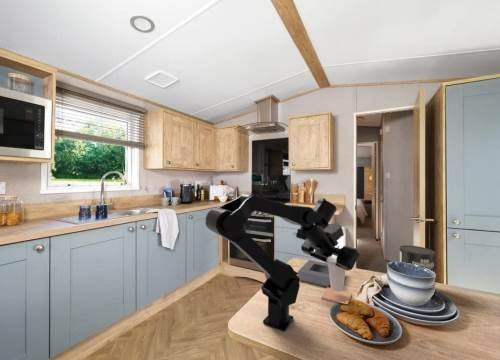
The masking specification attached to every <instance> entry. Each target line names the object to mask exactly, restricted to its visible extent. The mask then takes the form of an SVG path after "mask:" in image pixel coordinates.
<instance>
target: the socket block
mask: <svg viewBox="0 0 500 360" xmlns="http://www.w3.org/2000/svg"><path fill="white" fill-rule="evenodd" d="M297 272H298V275H297V276H298V277H299V279H300V282H304V283H308V284H312V285H317V286H321V287H325V288H327V287H328V288H331V284H330V277H329V269H328V263H326V262H323V261H322V262H321V261H315V260H311V259H308V261H307V262H305V263H304V264H303V266H301V267H300V269H298V270H297Z"/></svg>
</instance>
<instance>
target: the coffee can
mask: <svg viewBox="0 0 500 360" xmlns="http://www.w3.org/2000/svg"><path fill="white" fill-rule="evenodd" d="M436 255H437V253H436V251H434V250H433V249H429V248H427V247H422V246H417V245H400V246H399V263H400V262H406V263H411V264H412V265H413V264H416V265H419V266H421V267H425V268H428V269H430V270H431V271H433V272H434V273H435V274H436Z"/></svg>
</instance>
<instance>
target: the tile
mask: <svg viewBox="0 0 500 360" xmlns="http://www.w3.org/2000/svg"><path fill="white" fill-rule="evenodd" d="M352 295H353V294H352V292H349V291H344V290H343V291H340V292H339V291H334V290H332V289H331V288H328V287H325V290H324V292H323V294H322V295H321V297H320V298H321V299H322V300H326V301H329V302H333V303H336V304H338V303H337V302H346V301H349V302H350V301H351V298H352Z"/></svg>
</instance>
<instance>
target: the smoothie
mask: <svg viewBox="0 0 500 360" xmlns="http://www.w3.org/2000/svg"><path fill="white" fill-rule="evenodd" d="M336 248H339V249H340V245H337V246H336ZM336 258H337V256H335V255H332V256H331V257H328V258H327V263H328V269H329V277H330V284H331V289H332V290H334V291H339V292H340V291H344V285H345V278H346V270H345V269H342V268H340V267H338V266H336Z"/></svg>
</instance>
